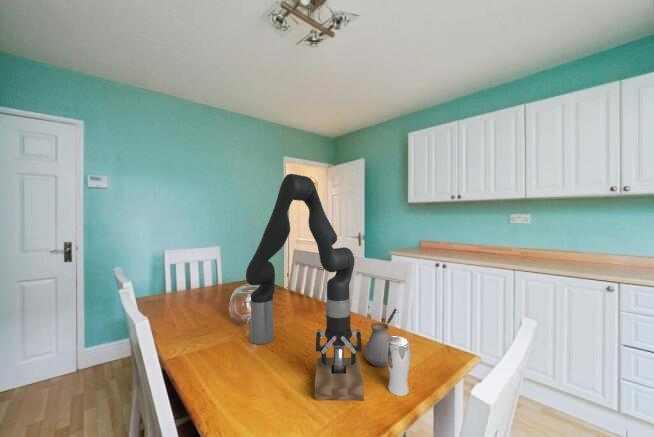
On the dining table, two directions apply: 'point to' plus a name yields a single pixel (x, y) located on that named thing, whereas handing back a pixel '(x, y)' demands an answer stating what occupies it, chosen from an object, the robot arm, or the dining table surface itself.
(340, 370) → the pin
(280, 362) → the dining table surface
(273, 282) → the robot arm
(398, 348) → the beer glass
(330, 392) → the bore block
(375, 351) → the coffee pot
